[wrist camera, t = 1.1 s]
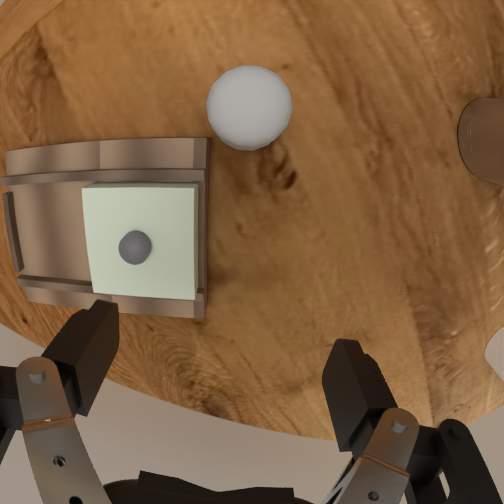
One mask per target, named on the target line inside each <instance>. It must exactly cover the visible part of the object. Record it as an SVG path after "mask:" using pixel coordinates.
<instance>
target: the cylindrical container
mask: <svg viewBox="0 0 504 504" xmlns="http://www.w3.org/2000/svg"><path fill="white" fill-rule="evenodd" d="M484 357H485V360H486V361H487V362H488V363H489V365H490V366H491V367H492V368H493V369H494V371H495V372H496V373H497V374H498V376H499V377H500V378H501V379H502V381H503V382H504V327H502V328H501V329H500V330H498V331H497V332H496V333H495V334H494V336H493V337H492V338H491V340H490V341H489V343H488V345H487V347H486V349H485V353H484Z"/></svg>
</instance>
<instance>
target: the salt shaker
mask: <svg viewBox="0 0 504 504" xmlns="http://www.w3.org/2000/svg"><path fill="white" fill-rule="evenodd" d="M206 108H207V114H208V120H209V123H210V124H211V126H212V129H213V131H214V132H215V133H216V135H217V136H218V137H219V139H220V140H221V141H222V142H223V143H225V144H227V145H229V146H230V147H232V148H234V149H236V150H251V151H253V150H256V149H259V148H261V147H264V146H267V145H269V144H270V143H271V142H272V141H274V140H275V139H276V138H277V137H278V136H279V135H280V134H281V133H282V132H283V131H284V130H285V129H286V128H287V126H288V123H289V120H290V117H291V114H292V111H293V107H292V101H291V95H290V90H289V89H288V87H287V86H286V85H285V83H284V82H283V80H282V79H281V77H280V76H279V75H277V74H276V73H274V72H272V71H270V70H268V69H266V68H264V67H262V66H250V65H242V66H239V67H236V68H234V69H231V70H229V71H226V72H225V73H224V74H223V75H222V76H221V77H220V78H219V79H218V80H217V81H216V82H215V83H214V84H213V85H212V86H211V88H210V92H209V95H208V98H207V102H206Z"/></svg>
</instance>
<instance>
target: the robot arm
mask: <svg viewBox="0 0 504 504" xmlns="http://www.w3.org/2000/svg"><path fill="white" fill-rule="evenodd" d="M458 141H459V148H460V152H461V156H462V158H463V160H464V163H465V165H466V166H467V168H468V169H469V171H470V172H471V173H472V174H474V175H475V176H476V177H478V178H480V179H482V180H486V181H489V182H492V183H495V184H497V185H500V186H503V187H504V99H498V98H485V99H476V100H474V101H472V102H471V103H470V104H469V105H468V106H467V107H466V108H465V110H464V111H463V113H462V116H461V119H460V122H459V129H458ZM119 338H120V337H119V308H118V304H117V303H115V302H110V301H106V300H101V299H97V300H96V301H95V302H94V304H93V305H92V306H91V308H90V309H89V310H85V309H82V310H80V311H78V312H76V313H75V314H73V315H72V316H71V317H70V318H69V319H68V321H67V322H66V323H65V325H64V326H63V327H62V328H61V330H60V333H59V332H58V334H57V335H56V336H55V338H54V339H53V340H52V342H51V343H50V344H49V346H48V347H47V348H46V350H45V351H44V353H43V354H42V355H41V357H31V358H28V359H26V360H24V361H22V362H21V363H20V364H19V366H18V367H6V366H0V464H1V462H2V460H3V457H4V455H5V453H6V450H7V448H8V446H9V444H10V441H11V439H12V437H13V435H14V433H15V431H16V430H21V431H22V433H23V438H24V442H25V446H26V450H27V454H28V457H29V461H30V464H31V468H32V471H33V475H34V478H35V481H36V484H37V487H38V490H39V493H40V496H41V499H42V501H43V504H313V503H311V502H308V501H306V500H303V499H300V498H296V497H294V491H293V488H273V487H253V488H246V489H239V490H231V491H223V492H216V491H212V490H209V489H206V488H203V487H200V486H198V485H195V484H192V483H189V482H187V481H184V480H182V479H179V478H175V477H169V476H164V475H159V474H154V473H150V472H145V471H140V474H139V478H138V479H129V480H120V481H115V482H111V483H108V484H105V485H103V486H102V484H101V482H100V480H99V477H98V475H97V473H96V471H95V469H94V467H93V465H92V462H91V460H90V458H89V456H88V453H87V451H86V448H85V446H84V444H83V441H82V439H81V436H80V433H79V431H78V428H77V426H76V423H75V420H74V417H75V415H76V414H80V415H83V416H86V417H87V415H88V413H89V411H90V408H91V406H92V404H93V402H94V399H95V397H96V395H97V393H98V391H99V389H100V386H101V384H102V382H103V380H104V378H105V376H106V374H107V372H108V370H109V368H110V366H111V363H112V361H113V359H114V357H115V355H116V353H117V350H118V347H119ZM381 373H382V372H381V370H380V368H379V366H378V364H377V362H376V361H375V360H374V359H372V358H371V357H370V356H369V355H368V354H364V352H363V350H362V348H361V346H360V344H359V342H358V341H357V340H349V339H337V340H336V341H335V343H334V346H333V348H332V351H331V353H330V355H329V358H328V360H327V363H326V365H325V367H324V370H323V374H322V385H323V389H324V393H325V396H326V400H327V404H328V408H329V412H330V415H331V419H332V423H333V427H334V431H335V435H336V439H337V443H338V447H339V451H340V452H347V451H352V455H353V457H352V458H351V459H350V461H349V462H348V464H347V466H346V467H345V469H344V471H343V472H342V474H341V475H340V477H339V478H338V480H337V482H336V483H335V485H334V486H333V488H332V489H331V491H330V492H329V494H328V495H327V497H326V498H325V499H324V500H323V502H322V503H321V504H399V503H400V501H401V498H402V496H403V493H405V497H406V500H407V504H503V503H502V500H501V498H500V496H499V493H498V491H497V488H496V486H495V484H494V482H493V479H492V477H491V475H490V473H489V470H488V468H487V466H486V464H485V462H484V460H483V458H482V456H481V453H480V451H479V449H478V447H477V445H476V443H475V442H474V439H473V437H472V435H471V433H470V431H469V429H468V428H467V427H466V426H465V425H464V424H463V423H462V422H460V421H458V420H455V419H446V420H444V421H442V423H441V424H440V425H439V426H438V428H432V427H427V426H421V425H419V423H418V421H417V419H416V418H415V417H414V416H413V415H412V414H411V413H410V412H408V411H406V410H404V409H401V408H398V406H397V404H396V402H395V400H394V397H393V395H392V393H391V391H390V389H389V387H388V385H387V383H386V382H385V379H384V376H383V374H381ZM442 472H444V474H445V477H446V480H447V482H448V485H449V489H450V493H449V497H448V499H447V497H446V494H445V492H444V489H443V486H442V483H441V480H440V478H439V475H440V474H441V473H442Z"/></svg>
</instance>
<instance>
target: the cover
mask: <svg viewBox="0 0 504 504" xmlns="http://www.w3.org/2000/svg"><path fill="white" fill-rule="evenodd" d="M198 189H199V183H197V182H98V183H93V184H90V185H88V186H86V187H83V188H82V202H83V215H84V226H85V235H86V244H87V252H88V260H89V267H90V273H91V280H92V286H93V292H94V293H104V294H115V295H128V296H141V297H155V298H170V299H186V300H195V297H196V293H197V289H198Z"/></svg>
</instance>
